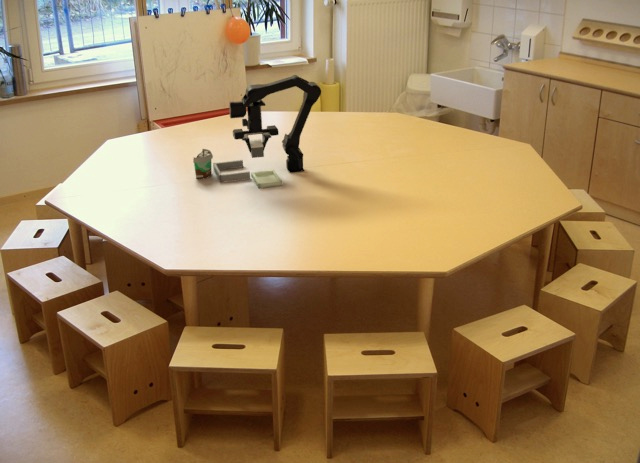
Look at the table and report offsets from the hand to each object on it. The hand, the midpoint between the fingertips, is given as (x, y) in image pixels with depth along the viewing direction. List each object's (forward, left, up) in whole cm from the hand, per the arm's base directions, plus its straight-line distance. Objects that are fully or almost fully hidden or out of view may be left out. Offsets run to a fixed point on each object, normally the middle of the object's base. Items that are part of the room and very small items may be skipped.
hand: (256, 151), depth 325 cm
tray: (-1, +10, -10) cm, 14 cm away
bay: (+11, -3, -10) cm, 15 cm away
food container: (+22, -5, -10) cm, 24 cm away
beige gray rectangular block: (0, 0, -1) cm, 1 cm away
